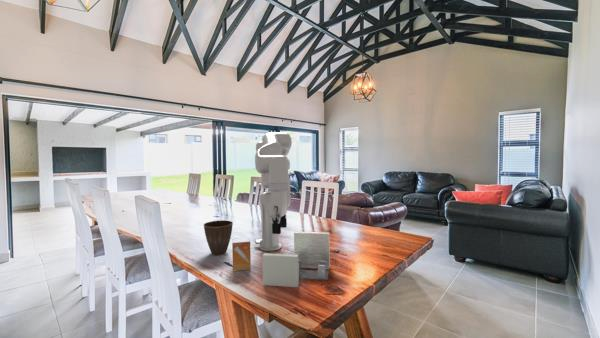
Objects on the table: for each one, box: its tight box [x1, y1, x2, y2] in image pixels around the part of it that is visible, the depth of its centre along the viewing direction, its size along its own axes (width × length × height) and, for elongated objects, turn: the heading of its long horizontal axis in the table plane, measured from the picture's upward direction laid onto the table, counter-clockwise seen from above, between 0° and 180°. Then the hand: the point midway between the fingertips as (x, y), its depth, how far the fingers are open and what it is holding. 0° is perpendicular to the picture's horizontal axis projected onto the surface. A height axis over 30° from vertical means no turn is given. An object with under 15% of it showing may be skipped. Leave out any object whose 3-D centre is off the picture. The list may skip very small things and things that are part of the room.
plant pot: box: [203, 220, 233, 256], centre depth 150 cm, size 15×15×16 cm
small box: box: [231, 237, 252, 272], centre depth 129 cm, size 8×6×13 cm
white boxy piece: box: [293, 231, 331, 282], centre depth 122 cm, size 16×14×16 cm
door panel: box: [261, 252, 300, 288], centre depth 111 cm, size 14×2×12 cm, turn 80°
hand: (279, 230), depth 111 cm, fingers open, 9 cm apart
